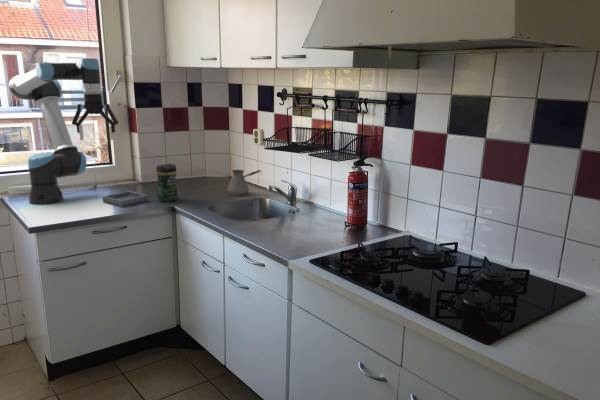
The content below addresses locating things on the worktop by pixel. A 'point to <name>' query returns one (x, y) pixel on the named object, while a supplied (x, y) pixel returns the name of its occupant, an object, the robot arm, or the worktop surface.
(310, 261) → the worktop surface
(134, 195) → the grey shallow rectangular tray
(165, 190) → the coffee jar
